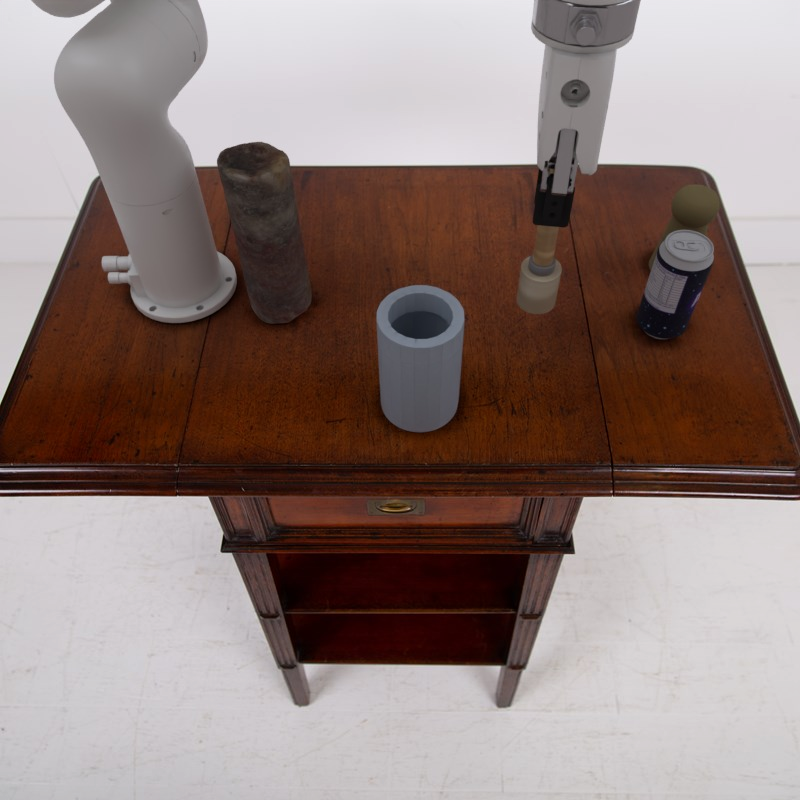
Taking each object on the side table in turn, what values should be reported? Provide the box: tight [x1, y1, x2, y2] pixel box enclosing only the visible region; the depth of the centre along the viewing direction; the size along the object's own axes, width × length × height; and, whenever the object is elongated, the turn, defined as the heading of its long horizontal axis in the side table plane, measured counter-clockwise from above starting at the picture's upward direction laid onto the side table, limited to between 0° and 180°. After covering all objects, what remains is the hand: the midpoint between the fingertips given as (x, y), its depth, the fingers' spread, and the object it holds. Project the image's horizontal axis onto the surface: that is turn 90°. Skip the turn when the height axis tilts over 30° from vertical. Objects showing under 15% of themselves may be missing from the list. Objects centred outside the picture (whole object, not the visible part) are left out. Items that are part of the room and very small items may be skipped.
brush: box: [515, 169, 563, 315], centre depth 72 cm, size 4×4×16 cm
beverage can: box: [635, 230, 715, 340], centre depth 82 cm, size 6×6×12 cm
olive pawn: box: [648, 183, 721, 271], centre depth 89 cm, size 6×6×11 cm
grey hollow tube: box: [376, 284, 466, 433], centre depth 76 cm, size 8×8×13 cm
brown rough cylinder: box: [216, 141, 313, 325], centre depth 83 cm, size 8×7×20 cm
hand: (550, 213), depth 69 cm, fingers closed on brush, 2 cm apart
